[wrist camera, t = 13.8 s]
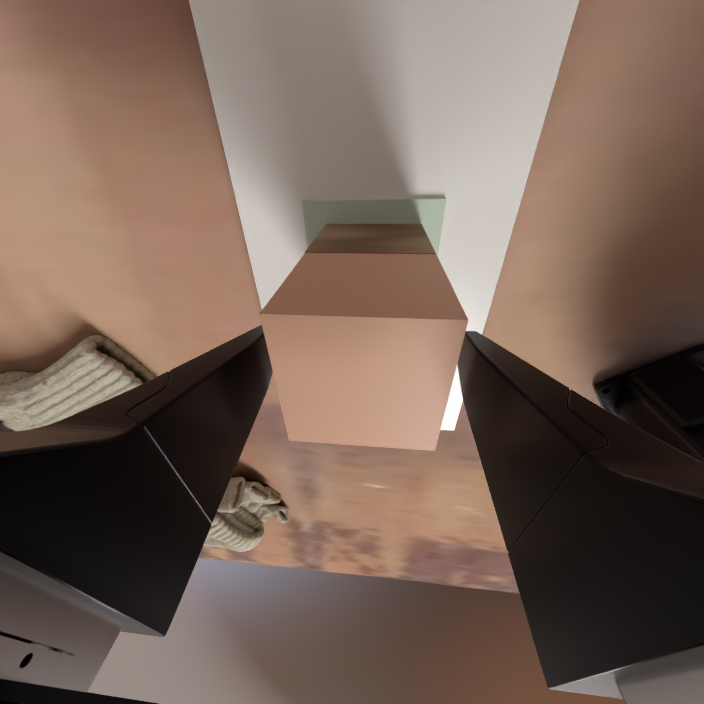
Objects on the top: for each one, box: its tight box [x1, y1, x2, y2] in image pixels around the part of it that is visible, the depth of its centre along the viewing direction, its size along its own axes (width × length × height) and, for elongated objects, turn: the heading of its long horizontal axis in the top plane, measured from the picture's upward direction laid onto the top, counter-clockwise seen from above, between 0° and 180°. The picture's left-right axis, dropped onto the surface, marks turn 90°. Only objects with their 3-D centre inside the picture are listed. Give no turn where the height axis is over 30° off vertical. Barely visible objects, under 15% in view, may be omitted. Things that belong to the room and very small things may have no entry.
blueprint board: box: [189, 0, 579, 430], centre depth 15 cm, size 25×13×1 cm, turn 1°
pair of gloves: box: [0, 335, 289, 552], centre depth 30 cm, size 30×26×5 cm
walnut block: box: [305, 224, 436, 254], centre depth 13 cm, size 4×4×4 cm
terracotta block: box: [259, 253, 468, 451], centre depth 9 cm, size 4×4×4 cm
